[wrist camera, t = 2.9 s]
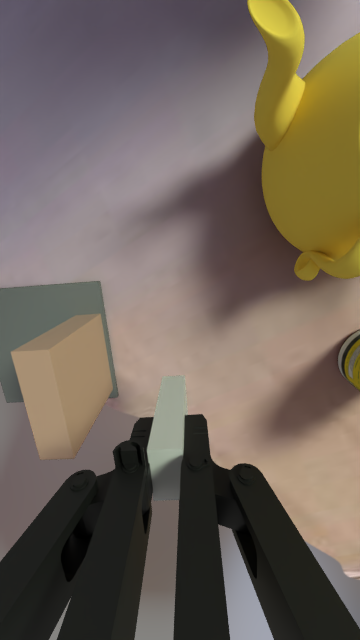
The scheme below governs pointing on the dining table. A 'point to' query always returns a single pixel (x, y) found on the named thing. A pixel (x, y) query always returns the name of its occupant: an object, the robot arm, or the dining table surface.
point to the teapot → (310, 144)
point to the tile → (64, 384)
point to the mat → (43, 322)
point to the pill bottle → (351, 360)
